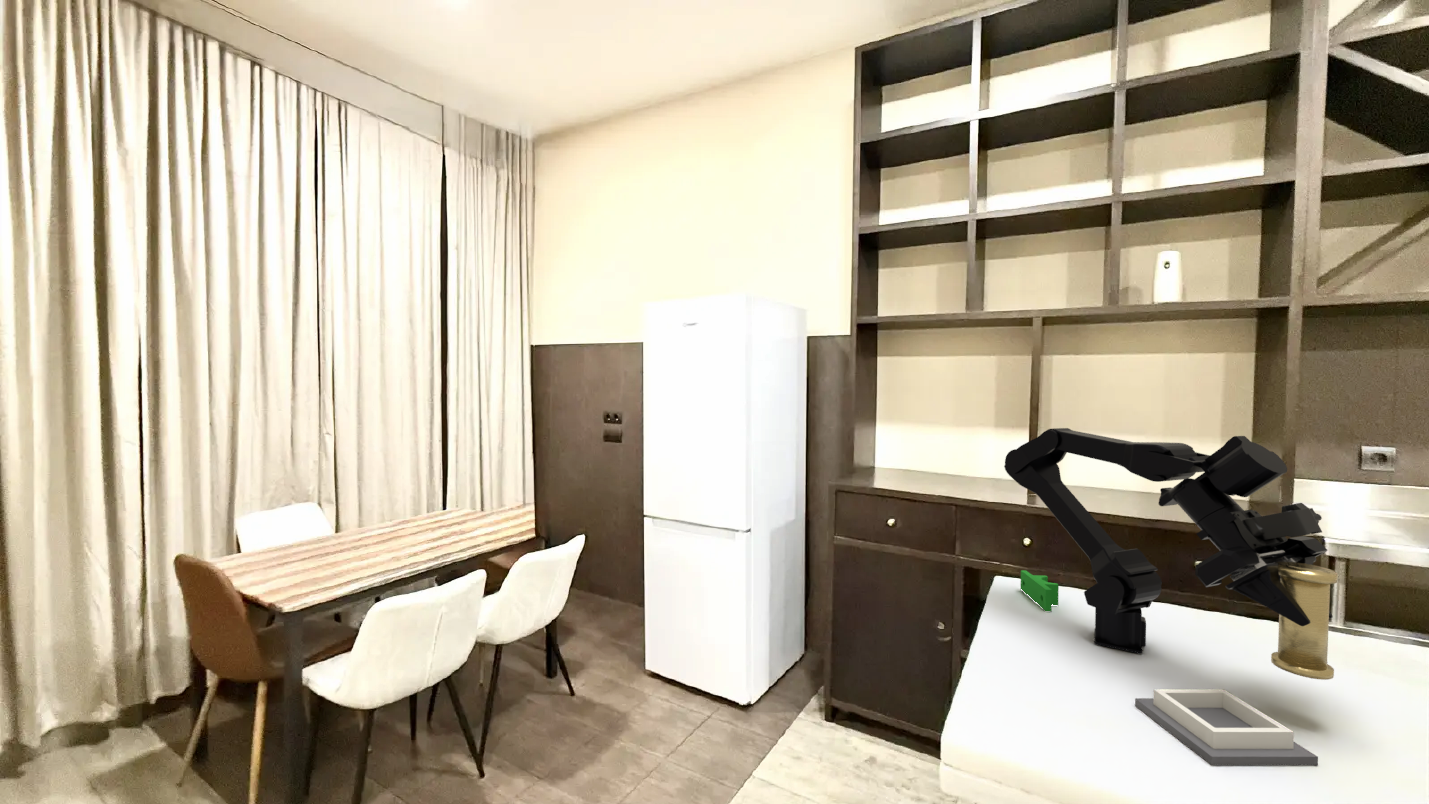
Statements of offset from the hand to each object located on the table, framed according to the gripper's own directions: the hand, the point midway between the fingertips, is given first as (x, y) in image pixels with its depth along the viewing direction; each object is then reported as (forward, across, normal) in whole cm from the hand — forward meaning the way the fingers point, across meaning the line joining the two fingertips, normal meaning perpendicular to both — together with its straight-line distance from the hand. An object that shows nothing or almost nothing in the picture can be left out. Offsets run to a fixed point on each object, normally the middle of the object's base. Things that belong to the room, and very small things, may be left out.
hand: (1317, 622), depth 72 cm
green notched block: (-20, +4, +40) cm, 45 cm away
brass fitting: (+4, 0, +6) cm, 7 cm away
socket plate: (+7, -13, +12) cm, 19 cm away
